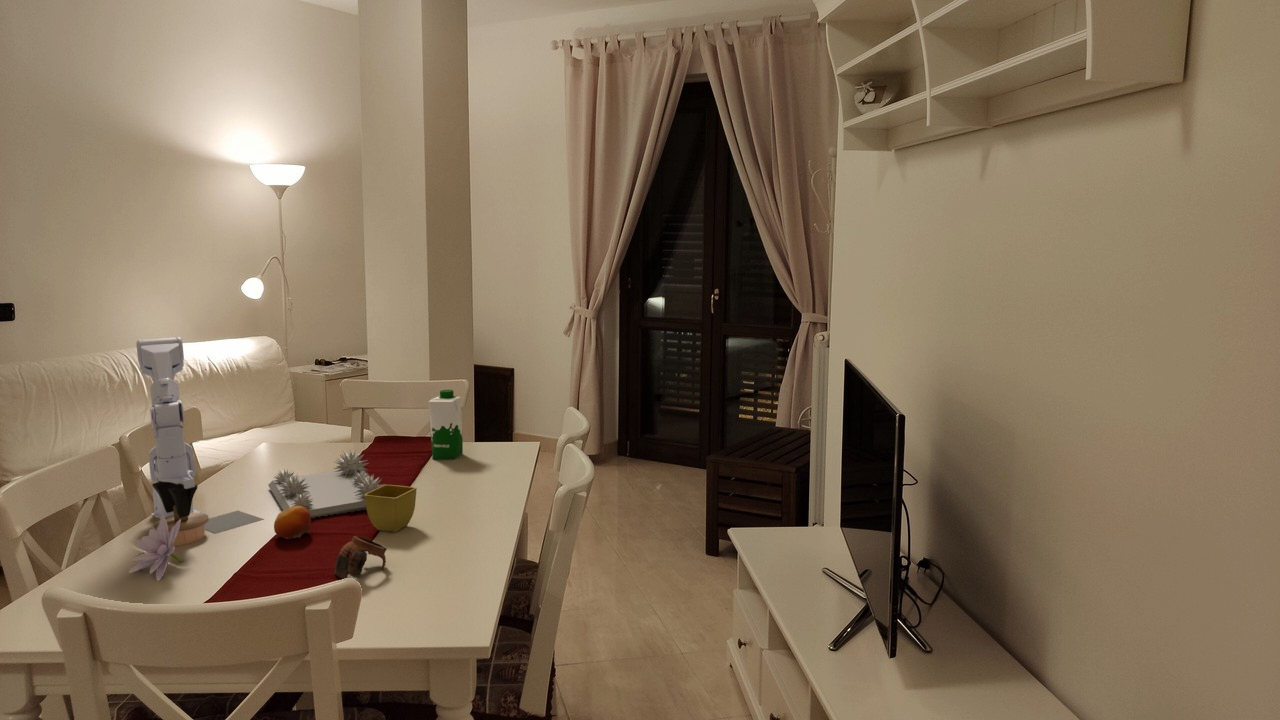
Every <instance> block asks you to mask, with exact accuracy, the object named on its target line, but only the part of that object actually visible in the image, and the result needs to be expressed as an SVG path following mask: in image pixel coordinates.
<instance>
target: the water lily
mask: <svg viewBox="0 0 1280 720" xmlns="http://www.w3.org/2000/svg"><path fill="white" fill-rule="evenodd" d="M159 520H160V522H159V526H158V528H157V530H156V529H154V528H150V529H149V532H148V535H146V536H145V535H144V536H142V537H141V538H140V539H138V540H136V541H135V545H136V546H137V548H138V549H140V550H141V551H143V552H146V553H143V554H138V555H137V556H135V557H134V558H133V559H132V561H133V562H137V564H135V565H134V566H133V567H131V569H130V570H129V571H128V574H131V573H134V572H139V571H141V570H142V569H145V568H147V567H150V566H151V565H152V566H151V567H150V570H149V574H152V573H154V572H155V571H156V573H155V574H156V575H155V578H156V580H157V581H161V579H162V577H163V576H164V574H165V572H166V570H167V567H168V563H169V556H171V557H172V558H174V559H175V560H176V561H177V562H179V563H183V562H184V560H182V558H180V557H179V556H178V555H176V554H175V553H174V551H175V546H171V545H172V544H173V542H174V540H175V538H176V536H177V534H178V531H179V528H180V523H181V519H180V520H179V521H178V522H177V523H176V524H175V526H173V527H172V529H171V531H170V537H169V532H168V525H167V522H166V519H165V517H164V515H162V516H161V518H159ZM168 540H169V542H168Z"/></svg>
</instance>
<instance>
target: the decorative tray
mask: <svg viewBox="0 0 1280 720" xmlns="http://www.w3.org/2000/svg"><path fill="white" fill-rule="evenodd" d="M362 452H363V451H360V452H359V453H357V455H356V449H353V450H352V451H351V450H349V454H348V452H345V451H344V450H342V452H340V457H341V458H338V457H336V460H335V461H334V463H335V464H337V466H335V467H334V468H333V470H332V471H326V472H318V473H313V474H312V473H311V474H305V475H300V476H299V473H297V472H296V473H297V474H296V475H295V476H294V472H293V470H291V471H290V472H289V468H287V469H285V468H283V470H279V471H278V472H277V474H278V475H277V474H275V476H273V477H272V478H273V480H272V481H270V483H268V487H269V489H270V491H271V493H272V494H273V496H274V498H275V499H276V501H277V502H278V504H279V506H280V507H281V509H282V511H284V510H286V509H288V508H290V507H293V506H303V507H305V508H306V509H307V510H308V511H309V512H310V516H311V518H313V519H316V518H315V517H319V518H322V517H321V516H325V517H329V516H328V515H330V516H334V514H336V515H339V514H341V513H342V514H346V513H348V512H351V513H356V512H355V511H357V512H362V510H363V511H367V508H366V503H365V498H364V495H365V494H366V493H368V492H371V491H373V490H375V489H377V488H379V487H381V486H384V485H386V484H385V483H384V484H380V482H381V481H382V479H379V478H380V476H379V477H377V478H375V479H374V476H375V475H374V474H375V473H373V474H371V476H370V474H369V473H368V472H367V471H368V468H365V467H366V466H367V465H368V464H370V463H369V462H366V461H368V459H366V460H361V459H362V458H363V456H364V454H362ZM337 469H338V470H337Z"/></svg>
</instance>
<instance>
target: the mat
mask: <svg viewBox="0 0 1280 720" xmlns="http://www.w3.org/2000/svg"><path fill="white" fill-rule="evenodd" d="M208 519H209V520H208V522H207V523H206V524H204V527H205V532H206V531H207V532H210V533H212V534H215V535H216V534H219V533H222V532H223V533H224V532H226V531H229V530H233V529H236V528H240V527H243V526H246V525H249V524H253V523H256V522H260V521H263V520H264V521H265V519H264V518H261V517H259V516H255V515H252V514H250V513H247V512H244V511H240V510H235V511H231V512H228V513H225V514H224V513H223V514H220V515H217V516H212V517H210V518H209V517H208Z"/></svg>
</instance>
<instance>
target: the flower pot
mask: <svg viewBox="0 0 1280 720" xmlns="http://www.w3.org/2000/svg"><path fill="white" fill-rule="evenodd" d="M364 498H365V503H366V508H367V510H366V512H367V516H368V519H369V521H370V523H371V524H372V525H373V526H374V527H375V529H376V530H378V531H384V532H392V533H396V532H398V531H399V530H401V529H403V528H405V527H407V526H408V525H409V523H410V522H411V519H412V517H413V515H414V512H415V507H416V499H417V487H415V486H407V485H406V486H405V485H394V484H385V485H383V486H381V487H379V488H377V489H375V490H373V491H371V492H368V493H366V494H365V495H364Z"/></svg>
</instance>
